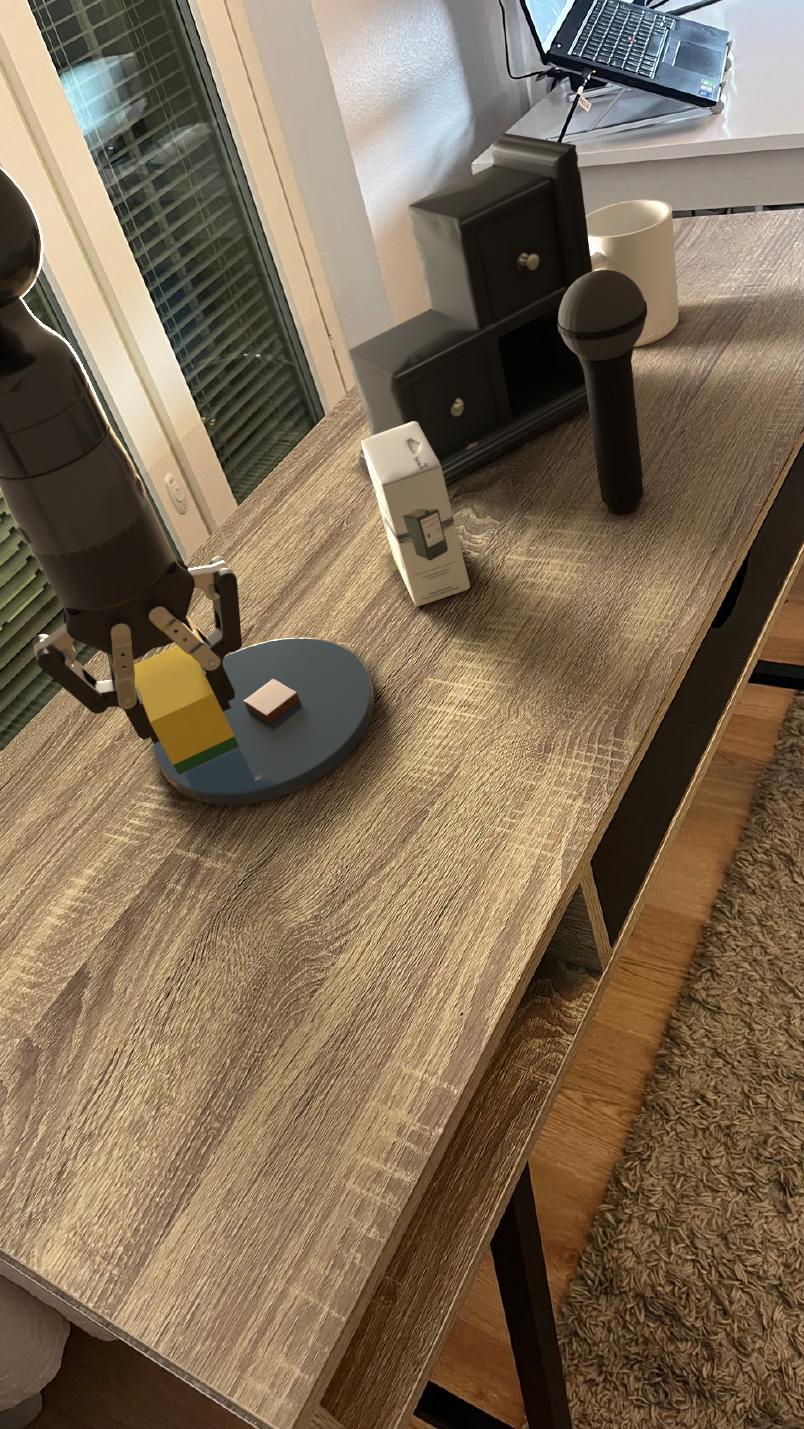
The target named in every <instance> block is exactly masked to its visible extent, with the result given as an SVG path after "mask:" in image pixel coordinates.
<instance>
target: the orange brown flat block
mask: <svg viewBox="0 0 804 1429" xmlns="http://www.w3.org/2000/svg"><path fill="white" fill-rule="evenodd" d="M299 700H300V699H299V697H298V694H297V692H295V691H293V690H292V689H290V688H288V687H287V686H285V685H283V684H282V683H280V682H278V681H277V680H275V679H272V680H271V681H270V682H268V683H267V684H266V685H264V686H263V687H262V688H260V689H259V690H258V691H256V692H255V693H254V694H252V695H251V696H250V697H248V698H247V699H246V700H244V703H245V706H246V708H247V709H248V710H250V711H251V712H253V713H255V714H256V715H258V716H259V717H261V718H262V719H264V720H265V721H267V722H268V723H271V722H272V721H273V720H275V719H276V718H277V717H279V716H280V715H281V714H283V713H284V712H285V711H286V710H288V709H289V708H290V707H292V706H293V705H294V704H295V703H297V702H298V701H299Z"/></svg>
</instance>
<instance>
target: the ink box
mask: <svg viewBox="0 0 804 1429" xmlns="http://www.w3.org/2000/svg"><path fill="white" fill-rule="evenodd" d="M360 443H361V447H362V449H363V451H364V455H365V458H366V462H367V465H368V469H369V472H370V473H369V472H368V473H369V476H370V478H371V479H370V480H371V483H372V486H373V490H374V493H375V497H376V501H377V504H378V507H379V511H380V514H381V518H382V522H383V525H384V528H385V532H386V536H387V539H388V542H389V547H390V550H391V554H392V558H393V560H394V562H395V565H396V567H397V569H398V572H399V573H400V576H401V578H402V580H403V582H404V584H405V586H406V589H407V591H408V593H409V595H410V597H411V599H412V601H413V603H414V605H415V606H416V607H420V606H421V607H422V606H425V605H426V604H431V603H433V602H437V601H438V600H442V599H444V598H447V597H450V596H453V595H456V594H458V593H463V592H465V591H467V590H469V589H470V588H471V585H470V584H471V583H470V580H469V576H468V572H467V567H466V563H465V559H464V556H463V551H462V547H461V543H460V539H459V535H458V531H457V526H456V522H455V518H454V514H453V510H452V505H451V501H450V498H449V494H448V489H447V485H445V481H444V476H443V472H442V468H441V465H440V463H439V460H438V459H437V457H436V455H435V454H434V452H433V450H432V448H431V446H430V444H429V443H428V441H427V439H426V437H425V435H424V433H423V431H422V430H421V428H420V426H419V423H417V422H416V421H415V422H414V421H413V422H409V423H407V424H404V425H401V426H398V427H396V428H393V429H390V430H387V431H384V432H381V433H378V434H375V435H372V436H371V435H370V436H367V437H364V438H361V440H360Z"/></svg>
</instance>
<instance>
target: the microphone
mask: <svg viewBox="0 0 804 1429" xmlns="http://www.w3.org/2000/svg"><path fill="white" fill-rule="evenodd" d="M647 313H648V312H647V304H646V301H645V300H644V297H643V295H642V293H641V290H640V289H639V288H638V286H637V285H636V284H635V282H634V281H633V280H631V279H630V278H629V277H628V276H626V275H624V274H622V273H620V272H617V271H613V270H596V271H592V272H589V273H587V274H585V275H584V276H582V277H580V278H579V279H577V280H576V281H575V282H574V283H573V284H572V285H571V286H570V287H569V289H568V290H567V292H566V293H565V295H564V297H563V299H562V302H561V305H560V308H559V314H558V319H557V324H558V330H559V332H560V334H561V335H562V338H563V340H564V342H565V343H566V345H567V346H568V347H569V348H570V350H571V351H573V352H574V353H575V354H577V355H578V357H579V360H580V362H581V364H582V366H583V369H584V374H585V382H586V390H587V397H588V405H589V407H588V411H589V412H588V413H589V420H590V427H591V435H592V442H593V449H594V457H595V464H596V472H597V481H598V485H599V490H600V498H601V502H602V503H603V504H604V505H605V507H607V509H608V510H609V511H610V512H611V513H612V514H613V515H616V516H627V515H630V514H632V513H634V512H635V511H636V510H637V509H638V507H639V505H640V503H641V501H642V499H643V497H644V496H645V491H644V480H643V479H644V474H643V463H642V454H641V445H640V444H641V443H640V434H639V423H638V414H637V404H636V393H635V383H634V373H633V364H632V363H633V362H632V360H633V352H634V348H635V347H634V345H635V343H636V342H637V340H638V339H639V337H640V336H641V333H642V331H643V328H644V324H645V320H646V317H647Z"/></svg>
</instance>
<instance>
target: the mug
mask: <svg viewBox="0 0 804 1429" xmlns="http://www.w3.org/2000/svg"><path fill="white" fill-rule="evenodd" d="M585 215H586V222H587V230H588V239H589V247H590V255H591V262H592V270H593V271H596V270H613V271H617V272H620V273H622V274H624V275H626V276H628V277H629V278H630V279H631V280H633V281H634V282H635V284H636V285H637V286H638V288H639V289H640V290H641V293H642V295H643V297H644V300H645V301H646V304H647V312H648V313H647V317H646V320H645V324H644V328H643V331H642V333H641V336H640V337H639V339H638V340H637V342H636V343H635V345H634V348H637V347H642V346H646V345H649V344H652V343H655V342H657V341H659V340H662V339H663V338H664V337H666V336H667V335H669V334H670V333H671V332H672V331H673V330H674V329H675V328H676V326H677V324H678V323H679V310H680V309H679V296H678V281H677V280H678V279H677V266H676V251H675V237H674V236H675V234H674V220H673V207H672V206H671V205H670V203H668V202H665V201H663V200H658V199H647V198H646V199H645V198H644V199H634V200H633V199H632V200H631V199H630V200H626V201H619V202H615V203H613V204H609V205H605V206H603V207H600V208H598V209H595V210H593V211H591V212H589V213H588V214H585ZM677 317H678V318H677ZM676 319H677V320H676ZM675 321H676V322H675ZM674 322H675V323H674ZM673 323H674V324H673ZM668 327H669V328H668ZM664 329H665V330H664ZM659 332H660V333H659ZM654 334H655V335H654ZM651 335H652V336H651ZM648 336H649V337H648ZM645 337H646V338H645Z"/></svg>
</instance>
